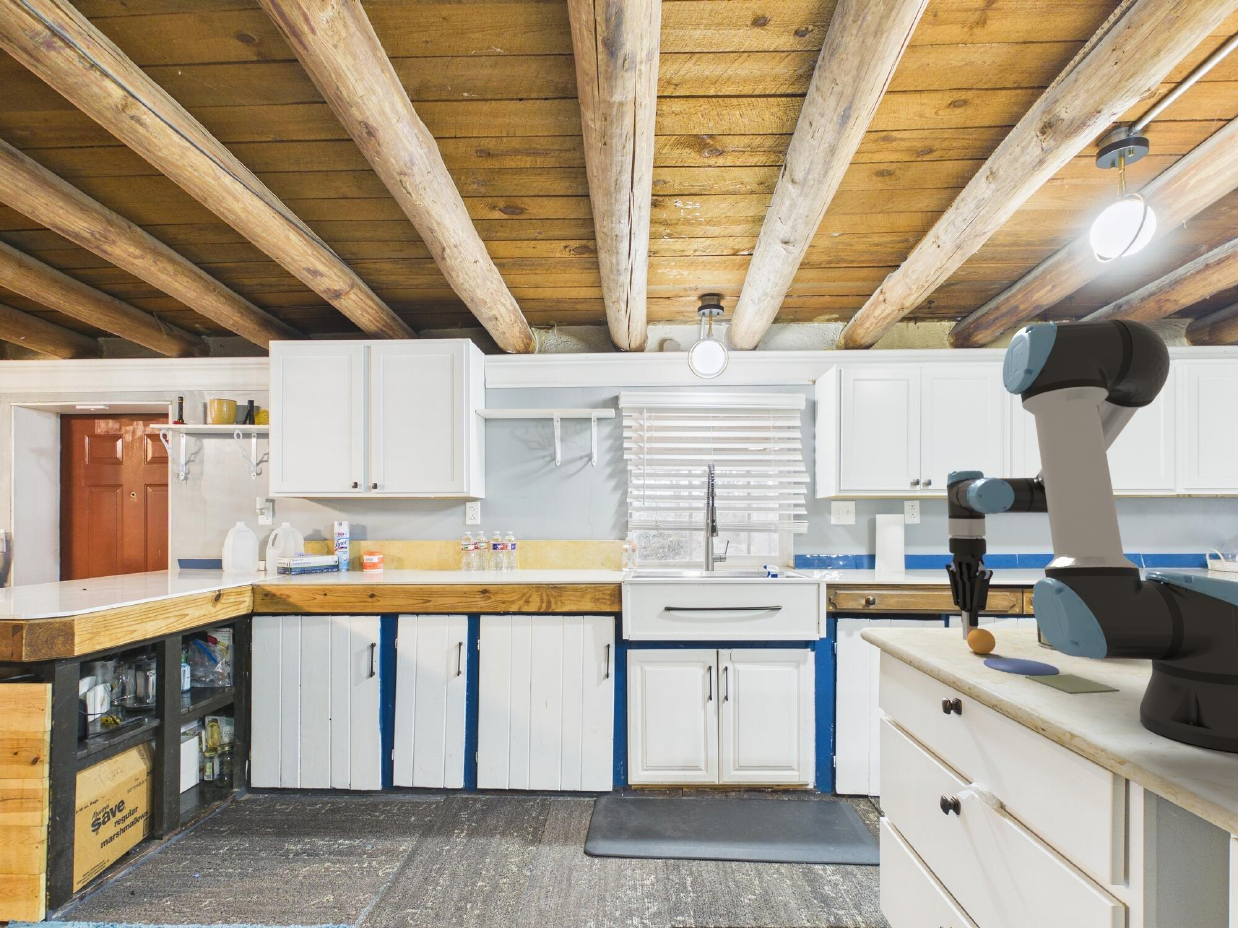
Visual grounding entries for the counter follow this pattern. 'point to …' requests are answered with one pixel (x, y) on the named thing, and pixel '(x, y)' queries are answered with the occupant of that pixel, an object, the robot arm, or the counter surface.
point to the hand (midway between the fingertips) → (970, 639)
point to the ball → (981, 641)
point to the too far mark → (1071, 683)
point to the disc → (1021, 666)
